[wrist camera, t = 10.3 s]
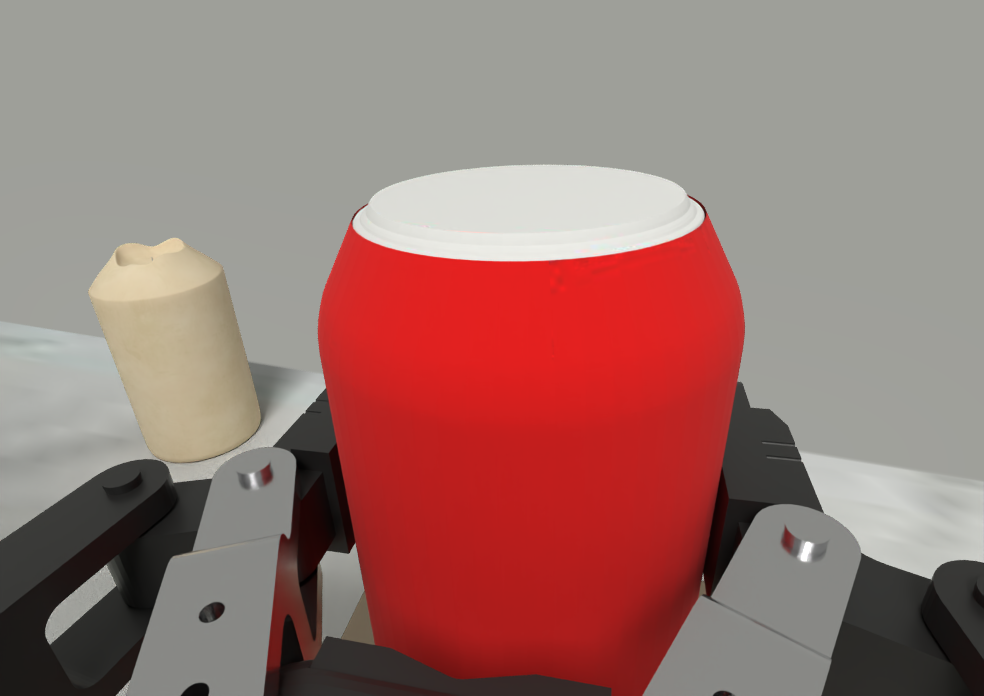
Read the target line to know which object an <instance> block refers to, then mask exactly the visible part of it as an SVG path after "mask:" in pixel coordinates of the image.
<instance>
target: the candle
mask: <svg viewBox="0 0 984 696" xmlns="http://www.w3.org/2000/svg"><path fill="white" fill-rule="evenodd" d="M88 293H89V296H90V299H91V301H92V304H93V307H94V309H95V312H96V315H97V317H98V320H99V322H100V325H101V327H102V330H103V333H104V335H105V338H106V341H107V343H108V346H109V348H110V351H111V354H112V356H113V359H114V361H115V364H116V367H117V369H118V372H119V374H120V377H121V380H122V382H123V385H124V387H125V390H126V393H127V395H128V398H129V400H130V403H131V406H132V408H133V411H134V413H135V416H136V419H137V421H138V424H139V426H140V429H141V432H142V434H143V437H144V439H145V441H146V444H147V446H148V448H149V450H150V451H151V452H152V454H153V455H154V456H155V457H157V458H159V459H161V460H164V461H168V462H176V463H185V462H195V461H200V460H205V459H209V458H212V457H215V456H218V455H221V454H223V453H226V452H228V451H230V450H232V449H234V448H236V447H238V446H239V445H241V444H242V443H244V442H245V441H246V440H248V439H249V438H250V437H251V436H252V435H253V434H254V433H255V432H256V430H257V429H258V427H259V425H260V421H261V413H260V407H259V403H258V399H257V395H256V391H255V387H254V384H253V380H252V376H251V372H250V368H249V365H248V361H247V357H246V353H245V350H244V346H243V342H242V338H241V334H240V331H239V327H238V323H237V319H236V315H235V311H234V308H233V305H232V300H231V296H230V293H229V288H228V285H227V281H226V277H225V274H224V270H223V267H222V265H221V264H219V263H218V262H216V261H215V260H213V259H212V258H210V257H208V256H206V255H205V254H203V253H201V252H199V251H197V250H195V249H193V248H192V247H190V246H189V245H187V244H185V243H184V242H183V241H181V240H180V239H178V238H172V239H169V240H167V241H165V242H163V243H161V244H159V245H157V246H153V247H150V246H145V245H142V244H137V243H127V244H123V245H121V246H119V247H118V248H117V249H116V250H115V252H114V254H113V256H112V257H111V259H110V260H109V261H108V263H107V264H106V266H105V267H104V268H103V269H102V270H101V272H100V273H99V274H98V276H97V277H96V279H95V280H94V282H93V283H92V285H91V287H90V288H89V291H88Z"/></svg>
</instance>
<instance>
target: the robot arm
mask: <svg viewBox="0 0 984 696" xmlns="http://www.w3.org/2000/svg"><path fill="white" fill-rule="evenodd" d="M354 544H355V537H354V531H353V526H352V521H351V516H350V510H349V505H348V500H347V495H346V489H345V484H344V479H343V473H342V468H341V463H340V458H339V452H338V447H337V442H336V437H335V431H334V426H333V421H332V415H331V410H330V405H329V400H328V394H327V389H325V390H324V391H323V392H322V393H321V394H320V395H319V397H318V398H317V399H316V402H313V403H312V404H311V405H310V406H309V408H308V409H307V410H306V413H305V414H304V413H303V414H302V415H301V416H300V417H299V419H298V420H297V421H296V422H295V423H294V424H293V425H292V426H291V427H290V428H289V429H288V431H287V432H286V433H285V434H284V435H283V436H282V437H281V438H280V439H279V440H278V442H277V443H276V444H275V445H274V446H273V447H265V448H258V449H253V450H250V451H246V452H244V453H241V454H239V455H237V456H235V457H233V458H231V459H230V460H228V461H226V462H225V463H224V464H223V465H222V466H221V467H220V468H219V469H218V470H217V471H216V473H215V474H214V477H213V479H204V480H195V481H187V482H178V483H173V480H172V478H171V475H170V472H169V469H168V467H167V466H166V464H164V463H163V462H161V461H158V460H152V459H143V460H135V461H130V462H126V463H123V464H120V465H117V466H114V467H112V468H110V469H107V470H105V471H104V472H102V473H100V474H98V475H97V476H95V477H94V478H92V479H91V480H89V481H88V482H86V483H85V484H83V485H82V486H80V487H79V488H77V489H76V490H75V491H73V492H72V493H70V494H69V495H67V496H66V497H64V498H63V499H61V500H60V501H58V502H57V503H56V504H54V505H53V506H51V507H50V508H48V509H47V510H45V511H44V512H42V513H41V514H39V515H38V516H37V517H35V518H34V519H32V520H31V521H29V522H28V523H26V524H25V525H23V526H22V527H20V528H19V529H18V530H16V531H15V532H13V533H12V534H10V535H9V536H7V537H6V538H4V539H3V540H1V541H0V696H115V695H116V694H117V693H118V692H119V691H120V690H121V689H122V688H123V687H124V686H125V685H126V684H127V683H128V682H129V681H130V679H131V681H130V684H129V687H128V690H127V693H126V696H611V692H612V688H609V687H604V686H598V685H593V684H587V683H582V682H576V681H571V680H565V679H559V678H554V677H548V676H543V675H537V674H532V675H518V676H503V677H489V678H474V679H456V678H452V677H450V676H448V675H445V674H443V673H441V672H439V671H437V670H435V669H433V668H431V667H429V666H427V665H425V664H423V663H421V662H419V661H417V660H415V659H413V658H411V657H409V656H407V655H404V654H402V653H400V652H398V651H396V650H394V649H392V648H388V647H383V646H377V645H372V644H366V643H361V642H355V641H350V640H344V639H339V638H333V637H328V636H326V638H325V640H324V642H323V644H322V569H321V565H320V561H321V559H322V558H323V556H324V554H325V553H326V551H334V552H340V553H347V554H349V553H350V551H351V549H352V547H353V546H354ZM106 564H107V566H108V568H109V570H110V572H111V574H112V577H113V579H114V581H115V583H116V585H117V586H116V587H115V588H114V589H112V590H111V591H110V592H109V593H108V594H107V595H106V596H105V597H103V598H102V599H101V600H100V601H99V602H98V603H97V604H96V605H94V606H93V607H92V608H91V609H90V610H89V611H88V612H87V613H85V614H84V615H83V616H82V617H81V618H80V619H79V620H78V621H76V622H75V623H74V624H73V625H72V626H71V627H70V628H69V629H67V630H66V631H65V632H64V633H63V634H62V635H61V636H60V637H58V638H57V639H56V640H55V641H54V642H53V643H52V644H51V645H49V643H48V641H47V639H46V637H45V627H46V624H47V621H48V619H49V617H50V615H51V613H52V612H53V611H54V609H55V608H56V607H57V606H58V605H59V604H60V603H61V602H62V601H63V600H64V599H66V598H67V597H68V596H69V595H70V594H72V593H73V592H74V591H75V590H76V589H78V588H79V587H80V586H81V585H82V584H83V583H85V582H86V581H87V580H88V579H89V578H91V577H92V576H93V575H94V574H95V573H97V572H98V571H99V570H100V569H101V568H103V567H104V566H105V565H106ZM703 574H704V582H705V589H706V594H703V595H701V596H700V597H699V599H698V600H697V601H696V603H695V605H694V606H693V608H692V610H691V611H690V613H689V615H688V617H687V618H686V620H685V622H684V624H683V625H682V627H681V629H680V631H679V632H678V634H677V636H676V638H675V639H674V641H673V643H672V645H671V646H670V648H669V650H668V652H667V653H666V655H665V657H664V659H663V660H662V662H661V664H660V666H659V667H658V669H657V671H656V673H655V674H654V676H653V678H652V680H651V681H650V683H649V685H648V687H647V688H646V690H645V692H644V694H643V695H642V696H984V563H982V562H977V561H969V560H956V561H950V562H947V563H944V564H942V565H941V566H940V567H938V568H937V570H936V571H935V573H934V575H933V577H932V580H931V579H928V578H925V577H922V576H919V575H916V574H913V573H910V572H907V571H904V570H901V569H898V568H895V567H892V566H889V565H886V564H884V563H881V562H879V561H876V560H874V559H872V558H870V557H868V556H866V555H864V554H862V553H861V550H860V546H859V544H858V542H857V540H856V539H855V537H854V536H853V535H852V533H851V532H850V531H849V530H848V529H847V528H846V527H844V526H843V525H842V524H841V523H839V522H838V521H837V520H835V519H834V518H832V517H830V516H828V515H826V514H824V512H823V510H822V507H821V505H820V502H819V500H818V498H817V495H816V493H815V490H814V488H813V486H812V483H811V481H810V478H809V476H808V473H807V471H806V469H805V466H804V464H803V462H801V456H800V454H799V452H798V449H797V447H795V442H794V440H793V437H792V435H791V432H790V430H789V427H788V425H786V424H785V423H784V422H783V421H782V420H781V419H780V418H779V417H778V416H776V415H775V414H774V413H773V412H772V411H771V410H770V409H759V408H750V405H749V402H748V399H747V396H746V393H745V390H744V386H743V384H742V383H741V382H737V385H736V391H735V396H734V402H733V407H732V413H731V419H730V424H729V430H728V435H727V441H726V446H725V452H724V458H723V463H722V469H721V474H720V480H719V486H718V491H717V497H716V502H715V508H714V513H713V519H712V525H711V530H710V536H709V541H708V547H707V553H706V558H705V564H704V569H703Z"/></svg>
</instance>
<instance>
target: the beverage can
mask: <svg viewBox="0 0 984 696" xmlns="http://www.w3.org/2000/svg"><path fill="white" fill-rule="evenodd" d="M744 335H745V322H744V312H743V306H742V299H741V294H740V290H739V287H738V284H737V281H736V278H735V276H734V274H733V271H732V269H731V267H730V264H729V262H728V260H727V258H726V255H725V253H724V251H723V248H722V246H721V244H720V241H719V239H718V237H717V235H716V232H715V230H714V228H713V225H712V223H711V221H710V219H709V216H708V214H707V212H706V210H705V207H704V206H703V205H702V204H701V203H700V202H699V201H697V200H696V199H694V198H693V197H691V196H688V195H687V194H686V192H685V191H684V190H683V189H682V188H681V187H680V186H679V185H677V184H676V183H674V182H672V181H669V180H666V179H664V178H661V177H658V176H654V175H650V174H646V173H640V172H636V171H629V170H623V169H615V168H605V167H593V166H575V165H516V166H497V167H485V168H474V169H465V170H457V171H450V172H443V173H438V174H432V175H427V176H422V177H418V178H414V179H410V180H406V181H403V182H400V183H397V184H394V185H391V186H389V187H387V188H384V189H383V190H381V191H379V192H378V193H376V194H375V195H374V196H373V197H372V198H371V200H370V202H369V203H368V204H367V205H365V206H363V207H362V208H361V209H359V210H358V211H357V212H356V213H355V214H354V216H353V218H352V220H351V222H350V225H349V228H348V230H347V233H346V235H345V237H344V240H343V243H342V245H341V248H340V250H339V253H338V255H337V258H336V260H335V263H334V265H333V268H332V271H331V273H330V275H329V278H328V280H327V283H326V285H325V289H324V292H323V295H322V300H321V305H320V311H319V319H318V341H319V350H320V357H321V363H322V368H323V373H324V379H325V384H326V389H327V394H328V400H329V405H330V410H331V415H332V421H333V426H334V431H335V437H336V442H337V447H338V452H339V458H340V463H341V468H342V473H343V479H344V484H345V489H346V495H347V500H348V505H349V510H350V516H351V521H352V526H353V531H354V537H355V542H356V547H357V552H358V558H359V563H360V568H361V574H362V579H363V584H364V589H365V595H366V600H367V605H368V610H369V616H370V621H371V626H372V632H373V637H374V642H375V645H377V646H383V647H388V648H392V649H394V650H396V651H398V652H400V653H402V654H404V655H407V656H409V657H411V658H413V659H415V660H417V661H419V662H421V663H423V664H425V665H427V666H429V667H431V668H433V669H435V670H437V671H439V672H441V673H443V674H445V675H448V676H450V677H452V678H456V679H474V678H489V677H503V676H518V675H532V674H537V675H543V676H548V677H554V678H559V679H565V680H571V681H576V682H582V683H587V684H593V685H598V686H604V687H609V688H612V692H611V696H642V695H643V694H644V692H645V690H646V688H647V687H648V685H649V683H650V681H651V680H652V678H653V676H654V674H655V673H656V671H657V669H658V667H659V666H660V664H661V662H662V660H663V659H664V657H665V655H666V653H667V652H668V650H669V648H670V646H671V645H672V643H673V641H674V639H675V638H676V636H677V634H678V632H679V631H680V629H681V627H682V625H683V624H684V622H685V620H686V618H687V617H688V615H689V613H690V611H691V610H692V608H693V606H694V605H695V603H696V601H697V600H698V597H699V592H700V586H701V580H702V575H703V569H704V564H705V558H706V553H707V547H708V541H709V536H710V530H711V525H712V519H713V513H714V508H715V502H716V497H717V491H718V486H719V480H720V474H721V469H722V463H723V458H724V452H725V446H726V441H727V435H728V430H729V424H730V419H731V413H732V407H733V402H734V396H735V391H736V385H737V379H738V373H739V368H740V363H741V357H742V351H743V344H744Z"/></svg>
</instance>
